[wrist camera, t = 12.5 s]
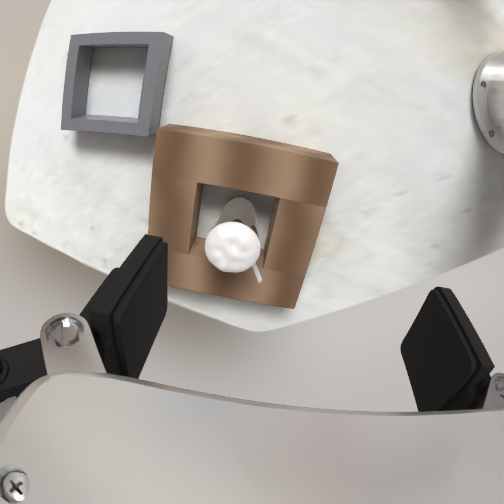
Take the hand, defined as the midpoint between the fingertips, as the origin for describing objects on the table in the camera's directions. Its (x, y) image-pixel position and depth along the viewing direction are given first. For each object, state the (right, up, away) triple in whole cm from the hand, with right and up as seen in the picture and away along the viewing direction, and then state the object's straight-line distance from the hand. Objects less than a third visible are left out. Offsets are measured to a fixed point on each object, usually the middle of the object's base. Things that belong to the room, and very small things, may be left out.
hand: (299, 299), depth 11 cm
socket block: (-3, +6, +23) cm, 24 cm away
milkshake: (-3, +6, +23) cm, 24 cm away
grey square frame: (-15, +19, +17) cm, 29 cm away
